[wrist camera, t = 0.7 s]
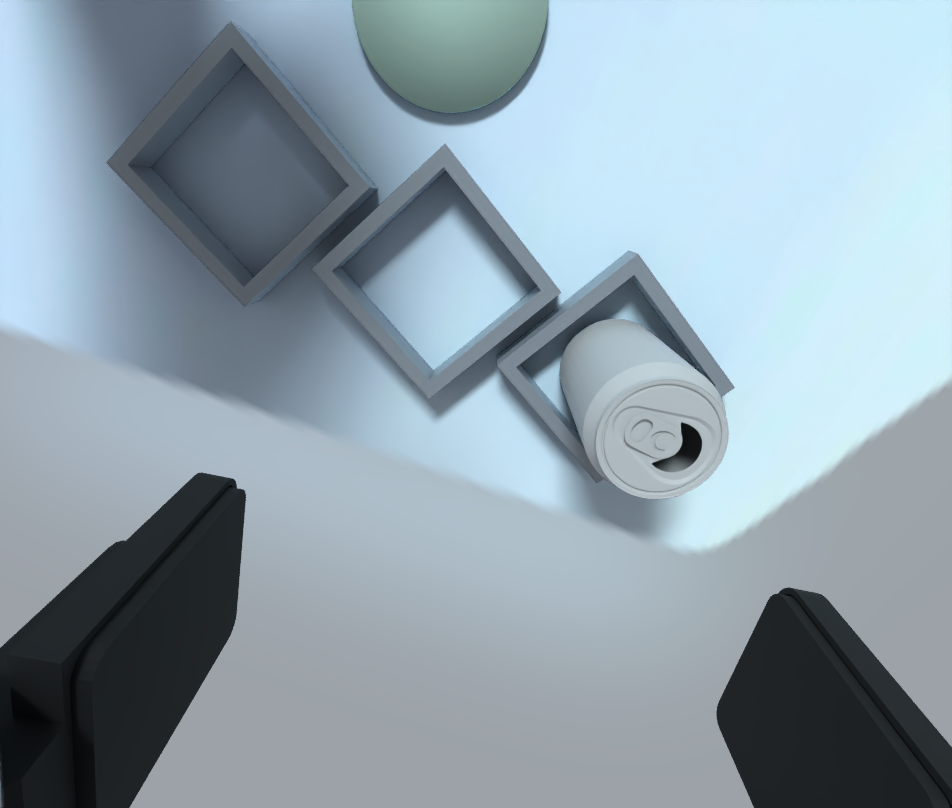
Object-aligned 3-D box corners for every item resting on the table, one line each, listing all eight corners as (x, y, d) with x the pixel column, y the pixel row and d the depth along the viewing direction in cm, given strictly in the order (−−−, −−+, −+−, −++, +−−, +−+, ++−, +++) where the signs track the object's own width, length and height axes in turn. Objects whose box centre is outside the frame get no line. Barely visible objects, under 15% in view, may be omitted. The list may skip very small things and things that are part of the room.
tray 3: (496, 356, 35) (496, 365, 33) (628, 250, 33) (637, 253, 31) (591, 467, 38) (596, 483, 36) (720, 376, 35) (734, 387, 33)
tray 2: (322, 265, 34) (311, 269, 32) (448, 147, 31) (445, 143, 29) (432, 387, 36) (428, 399, 34) (557, 287, 34) (561, 292, 32)
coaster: (314, -8, 29) (311, -12, 29) (461, -170, 27) (460, -178, 26) (441, 154, 31) (440, 153, 31) (586, 18, 29) (588, 14, 29)
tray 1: (131, 165, 32) (106, 162, 30) (248, 33, 30) (230, 21, 28) (259, 300, 35) (244, 306, 32) (377, 188, 32) (369, 187, 30)
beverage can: (623, 430, 37) (681, 530, 25) (538, 385, 36) (559, 468, 25) (680, 346, 35) (771, 415, 23) (592, 297, 34) (642, 343, 23)
